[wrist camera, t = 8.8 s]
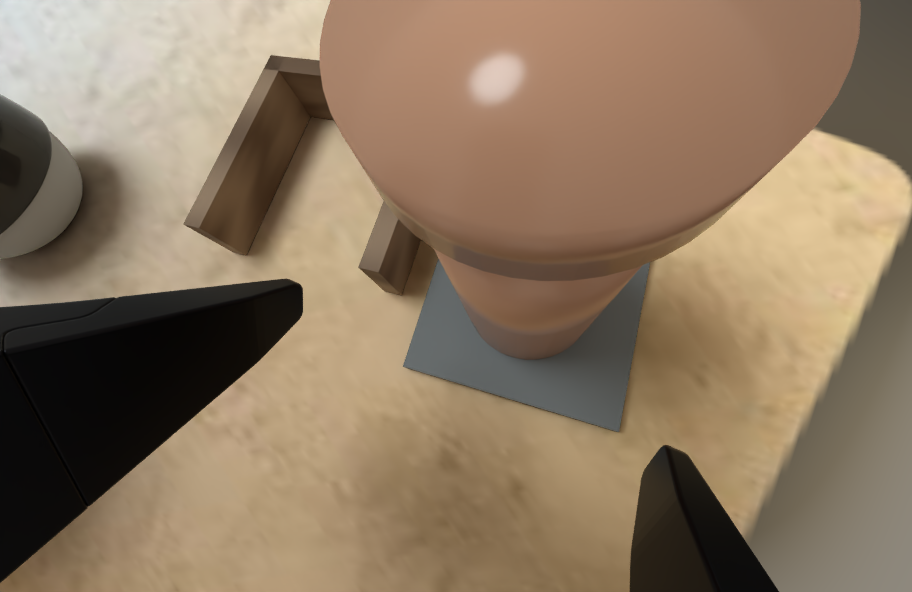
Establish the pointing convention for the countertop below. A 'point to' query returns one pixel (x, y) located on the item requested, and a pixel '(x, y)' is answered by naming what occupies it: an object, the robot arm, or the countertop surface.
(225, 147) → the frame
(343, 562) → the countertop surface
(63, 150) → the pump dispenser
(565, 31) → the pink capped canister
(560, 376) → the mat
